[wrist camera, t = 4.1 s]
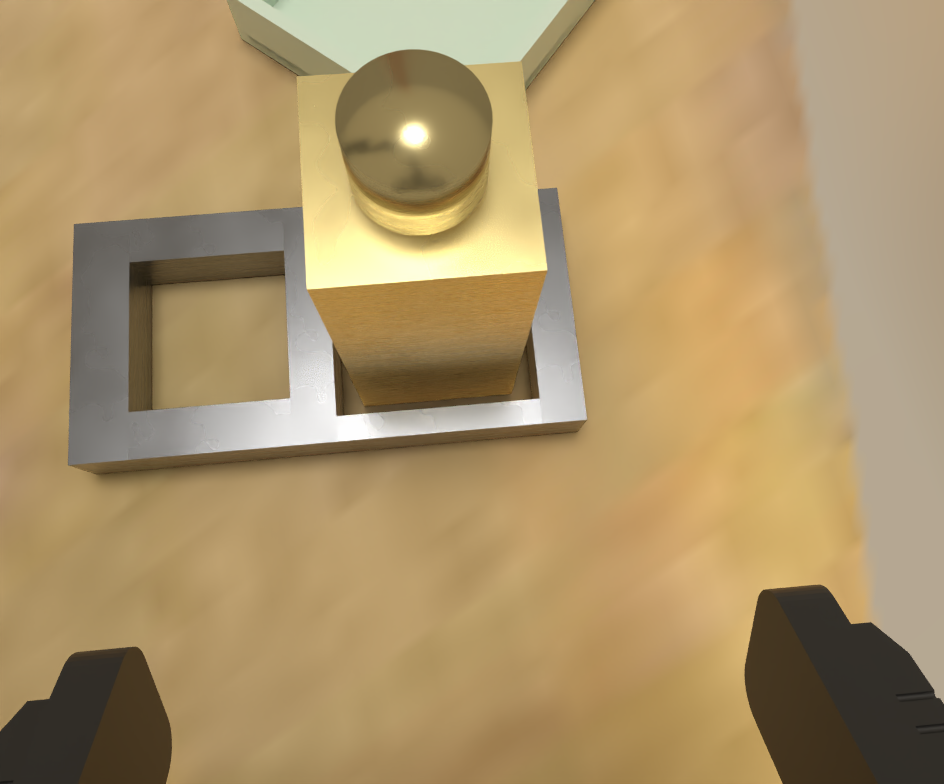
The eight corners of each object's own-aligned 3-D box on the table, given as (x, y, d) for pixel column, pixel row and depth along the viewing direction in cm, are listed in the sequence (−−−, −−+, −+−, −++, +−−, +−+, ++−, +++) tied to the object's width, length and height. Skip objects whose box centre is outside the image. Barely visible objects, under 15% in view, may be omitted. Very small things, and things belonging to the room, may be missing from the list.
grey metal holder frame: (577, 431, 27) (587, 419, 25) (96, 474, 26) (68, 465, 25) (550, 214, 29) (556, 188, 27) (100, 249, 28) (73, 224, 26)
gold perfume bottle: (511, 393, 27) (559, 228, 15) (364, 406, 27) (287, 249, 15) (496, 257, 29) (529, -3, 16) (355, 268, 28) (277, 13, 16)
